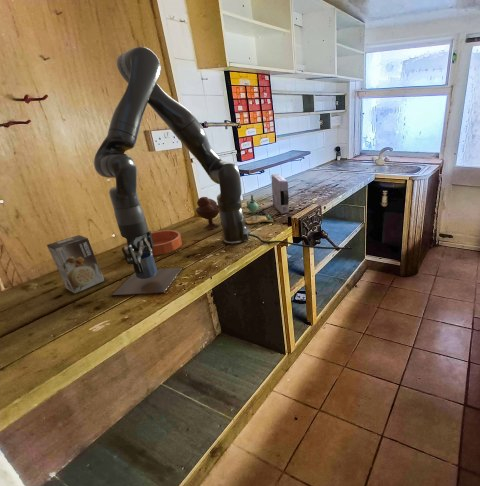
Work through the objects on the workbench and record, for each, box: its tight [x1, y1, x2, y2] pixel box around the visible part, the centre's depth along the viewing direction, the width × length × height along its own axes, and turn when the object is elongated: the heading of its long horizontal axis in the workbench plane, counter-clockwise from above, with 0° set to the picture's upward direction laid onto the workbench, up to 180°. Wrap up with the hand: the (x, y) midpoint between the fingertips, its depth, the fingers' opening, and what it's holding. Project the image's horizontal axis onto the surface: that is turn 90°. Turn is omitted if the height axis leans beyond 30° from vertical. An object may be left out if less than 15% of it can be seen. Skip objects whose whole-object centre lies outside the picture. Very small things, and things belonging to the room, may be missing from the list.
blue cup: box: [132, 252, 158, 279], centre depth 102 cm, size 6×6×7 cm
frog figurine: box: [242, 194, 275, 225], centre depth 153 cm, size 10×18×15 cm, turn 67°
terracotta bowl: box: [142, 229, 183, 256], centre depth 129 cm, size 17×17×4 cm
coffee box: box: [46, 234, 105, 294], centre depth 101 cm, size 9×6×16 cm
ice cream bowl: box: [195, 196, 219, 229], centre depth 147 cm, size 11×11×15 cm
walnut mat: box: [111, 267, 183, 297], centre depth 105 cm, size 16×16×1 cm
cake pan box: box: [270, 173, 290, 215], centre depth 169 cm, size 19×5×18 cm, turn 23°
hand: (145, 267), depth 103 cm, fingers closed on blue cup, 6 cm apart
